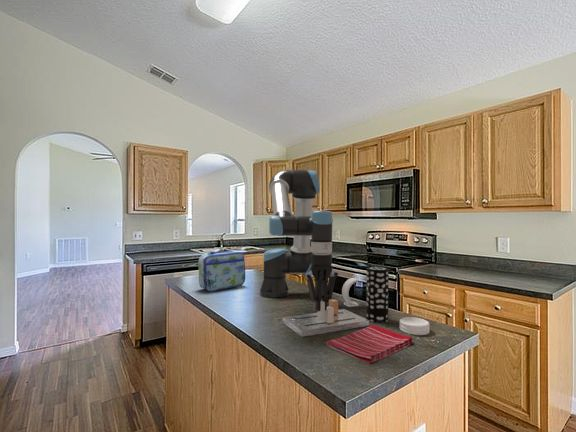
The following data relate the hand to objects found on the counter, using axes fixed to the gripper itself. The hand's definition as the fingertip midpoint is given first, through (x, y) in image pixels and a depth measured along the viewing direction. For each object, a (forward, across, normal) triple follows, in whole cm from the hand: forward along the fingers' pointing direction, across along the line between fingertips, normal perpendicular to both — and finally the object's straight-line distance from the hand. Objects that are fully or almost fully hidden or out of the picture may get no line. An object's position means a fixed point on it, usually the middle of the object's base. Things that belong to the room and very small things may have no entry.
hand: (320, 319), depth 113 cm
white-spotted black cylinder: (+4, +26, +1) cm, 26 cm away
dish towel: (+4, +8, -18) cm, 20 cm away
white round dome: (+4, +30, -14) cm, 34 cm away
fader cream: (+1, +3, 0) cm, 3 cm away
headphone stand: (+4, +28, +22) cm, 36 cm away
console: (+3, +4, +4) cm, 7 cm away
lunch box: (+4, -18, +79) cm, 81 cm away
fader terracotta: (+1, +10, +8) cm, 13 cm away
